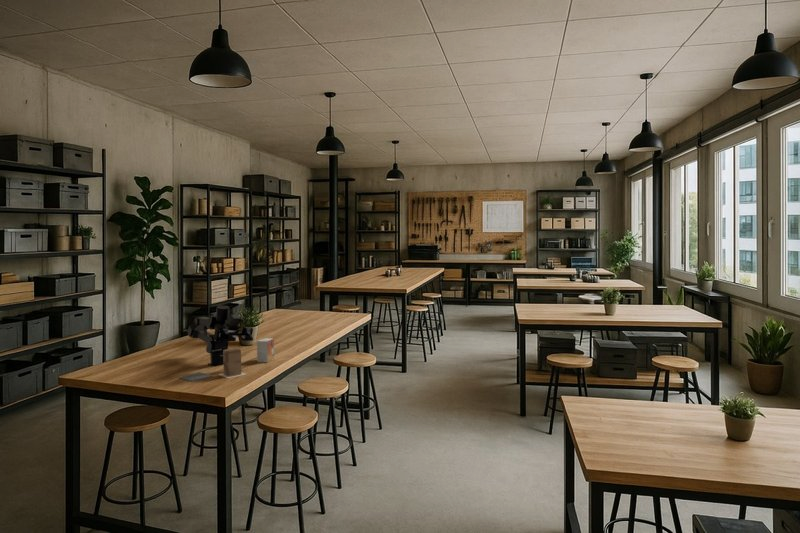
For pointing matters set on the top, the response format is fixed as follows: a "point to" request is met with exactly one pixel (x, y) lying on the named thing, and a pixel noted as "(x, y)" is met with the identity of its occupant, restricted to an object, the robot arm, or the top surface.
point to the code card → (231, 376)
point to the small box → (265, 350)
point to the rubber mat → (195, 377)
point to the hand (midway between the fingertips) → (244, 339)
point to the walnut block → (232, 362)
